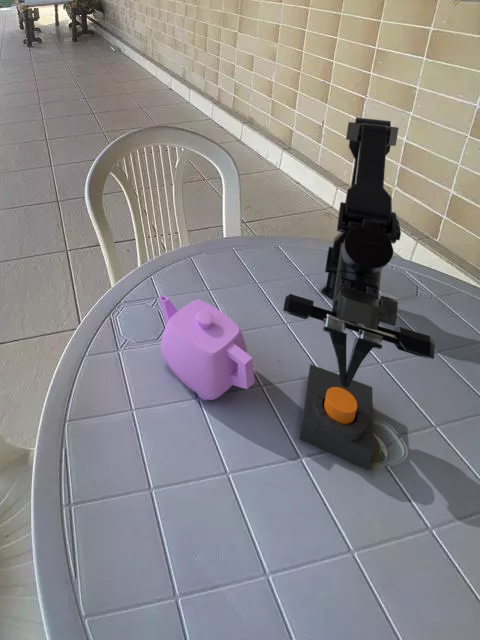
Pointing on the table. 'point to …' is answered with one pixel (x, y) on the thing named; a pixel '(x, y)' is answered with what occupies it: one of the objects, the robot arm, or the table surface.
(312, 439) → the button base
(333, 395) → the round orange button
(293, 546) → the table surface
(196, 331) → the teapot
